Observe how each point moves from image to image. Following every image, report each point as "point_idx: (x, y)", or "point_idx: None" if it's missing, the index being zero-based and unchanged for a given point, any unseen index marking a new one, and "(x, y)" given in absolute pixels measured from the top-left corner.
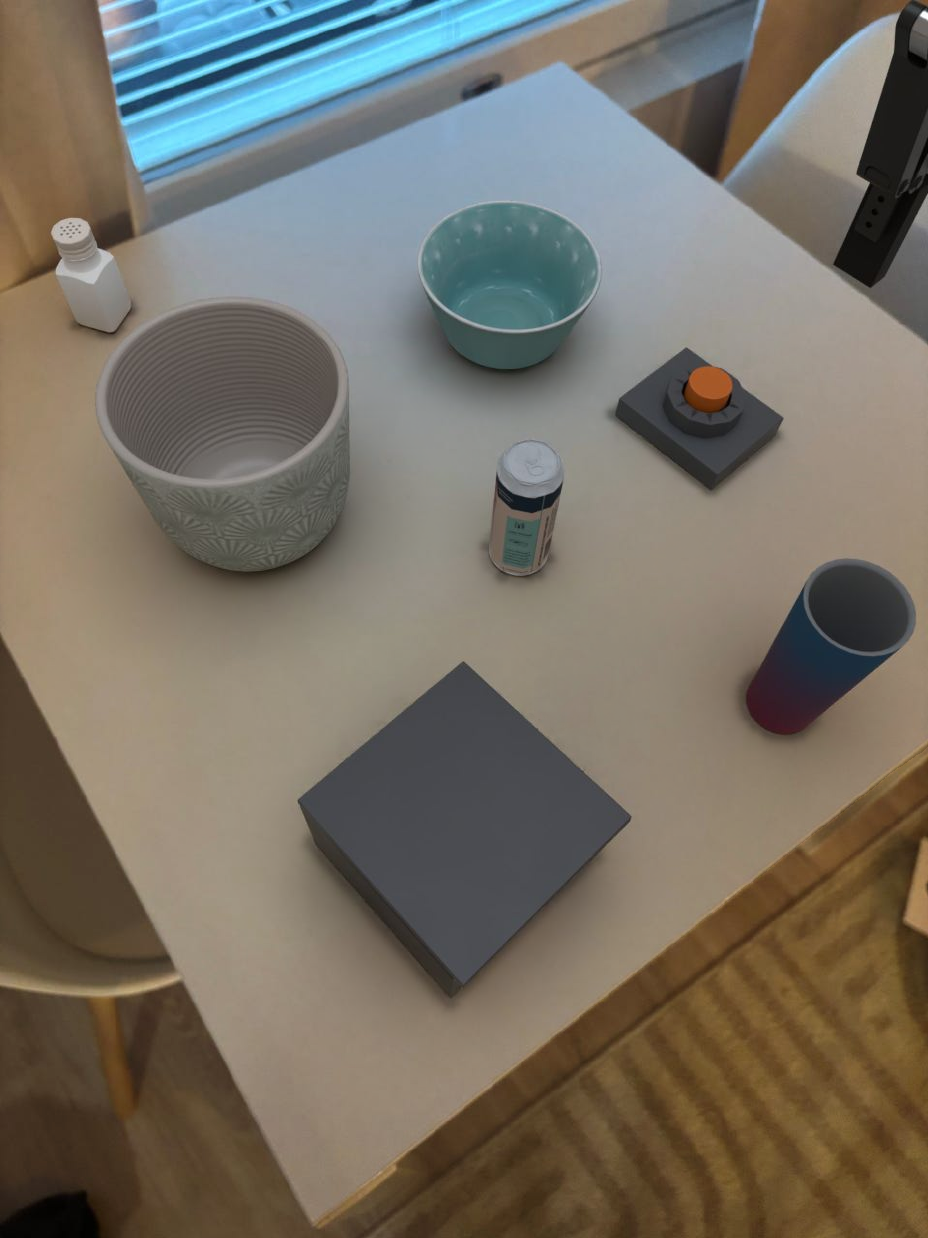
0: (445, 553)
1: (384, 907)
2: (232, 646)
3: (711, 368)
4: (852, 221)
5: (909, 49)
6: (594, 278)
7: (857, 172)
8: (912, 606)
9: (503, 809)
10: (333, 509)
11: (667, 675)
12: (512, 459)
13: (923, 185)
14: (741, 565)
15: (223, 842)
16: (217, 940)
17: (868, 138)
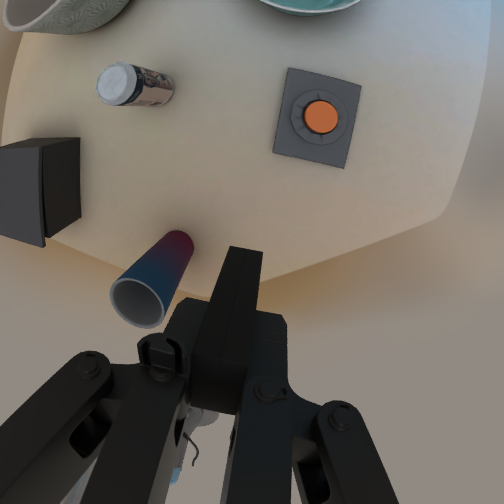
0: (135, 64)
1: None
2: (56, 50)
3: (334, 111)
4: (216, 282)
5: None
6: (338, 6)
7: (76, 356)
8: (156, 325)
9: (18, 207)
10: (83, 27)
11: (153, 195)
12: (106, 73)
13: (206, 407)
14: (235, 192)
15: (18, 118)
16: (6, 143)
17: (24, 406)
